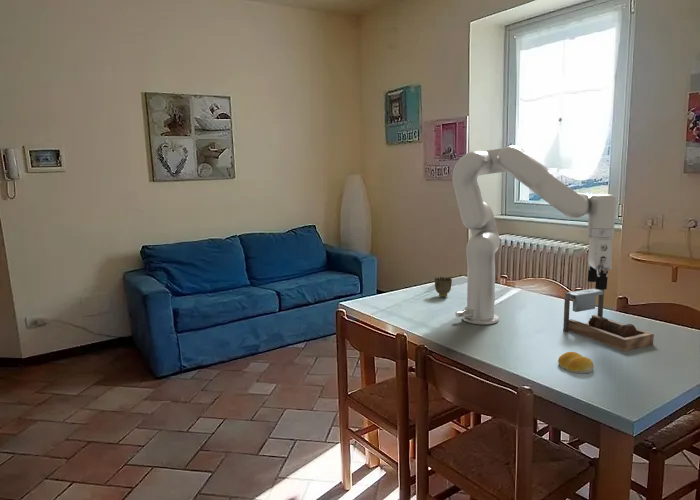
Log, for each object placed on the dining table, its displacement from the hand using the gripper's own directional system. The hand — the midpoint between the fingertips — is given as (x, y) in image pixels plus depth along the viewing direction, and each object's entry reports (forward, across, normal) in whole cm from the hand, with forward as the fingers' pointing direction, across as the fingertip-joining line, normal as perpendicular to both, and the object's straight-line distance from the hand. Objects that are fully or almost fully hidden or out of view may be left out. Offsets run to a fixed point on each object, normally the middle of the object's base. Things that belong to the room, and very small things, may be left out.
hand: (596, 285), depth 166 cm
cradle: (+16, -4, -3) cm, 17 cm away
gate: (+10, +4, +2) cm, 11 cm away
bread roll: (+16, -31, +12) cm, 37 cm away
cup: (+17, +40, +50) cm, 66 cm away
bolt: (+15, -5, -4) cm, 16 cm away
